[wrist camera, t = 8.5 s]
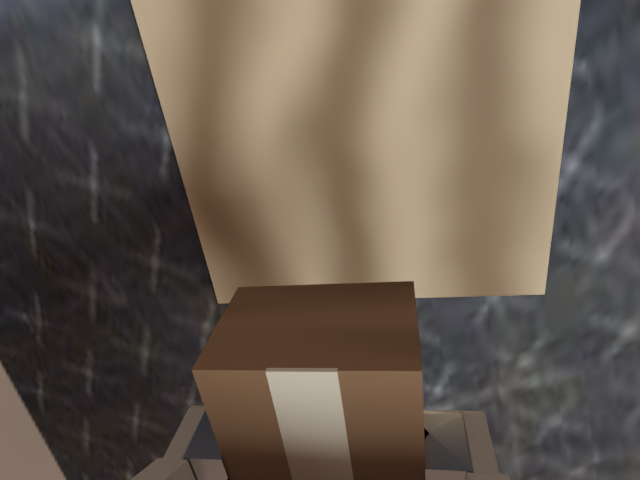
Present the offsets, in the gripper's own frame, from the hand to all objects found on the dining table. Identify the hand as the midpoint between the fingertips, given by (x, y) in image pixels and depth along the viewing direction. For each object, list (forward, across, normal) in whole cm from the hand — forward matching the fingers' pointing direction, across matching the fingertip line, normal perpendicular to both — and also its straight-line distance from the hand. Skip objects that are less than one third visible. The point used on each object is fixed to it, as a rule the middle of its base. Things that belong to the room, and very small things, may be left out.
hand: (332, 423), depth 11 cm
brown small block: (+1, 0, 0) cm, 1 cm away
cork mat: (+15, 0, -6) cm, 16 cm away
